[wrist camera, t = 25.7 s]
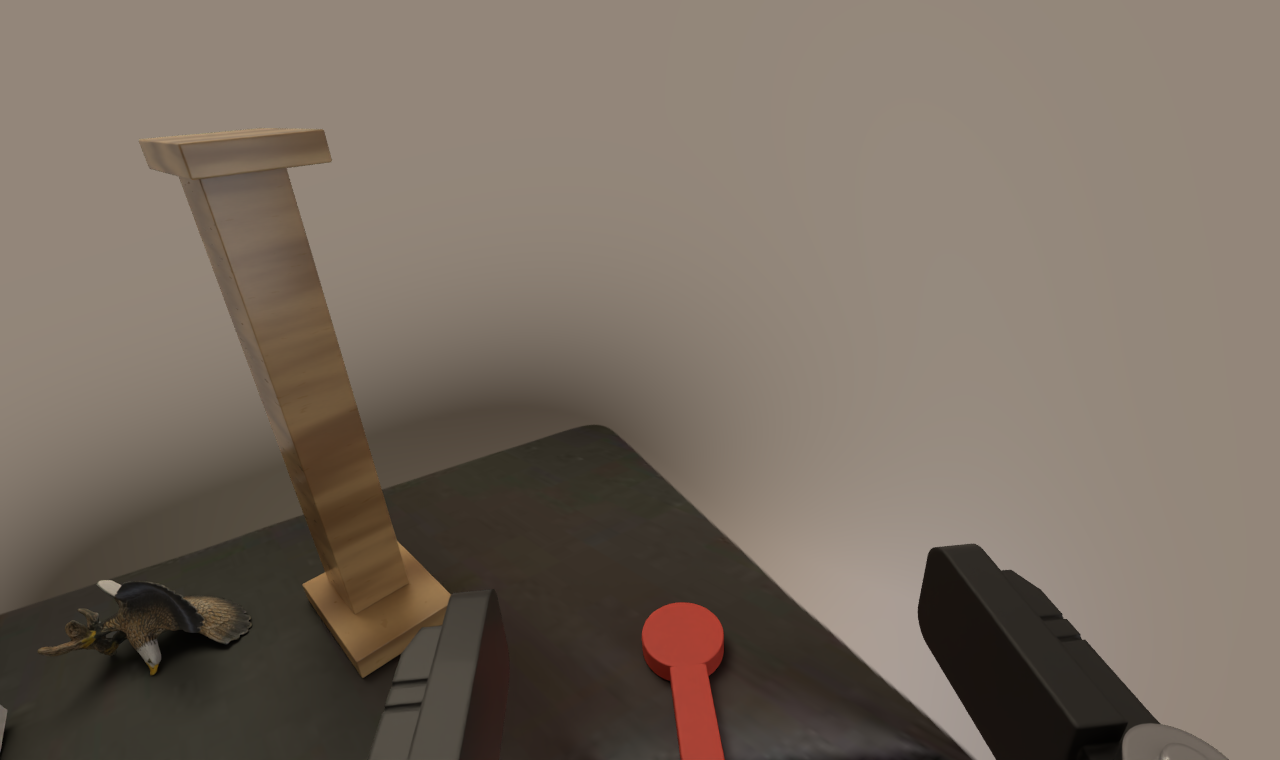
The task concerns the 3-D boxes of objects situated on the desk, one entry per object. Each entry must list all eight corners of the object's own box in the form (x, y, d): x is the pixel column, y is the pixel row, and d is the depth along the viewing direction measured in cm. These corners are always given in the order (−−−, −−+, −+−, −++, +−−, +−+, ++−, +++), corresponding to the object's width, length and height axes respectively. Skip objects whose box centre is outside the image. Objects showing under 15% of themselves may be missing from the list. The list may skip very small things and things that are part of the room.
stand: (460, 615, 44) (334, 127, 30) (362, 678, 40) (163, 144, 26) (397, 551, 51) (271, 127, 37) (308, 599, 46) (126, 140, 32)
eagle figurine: (54, 718, 37) (209, 657, 38) (20, 603, 38) (175, 546, 39) (141, 675, 45) (269, 624, 46) (112, 579, 45) (239, 532, 46)
